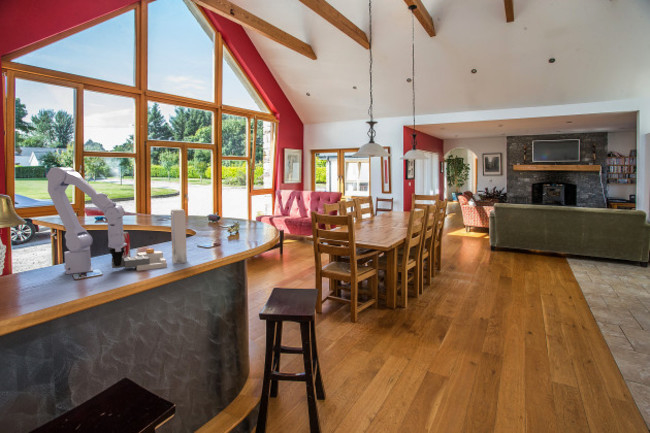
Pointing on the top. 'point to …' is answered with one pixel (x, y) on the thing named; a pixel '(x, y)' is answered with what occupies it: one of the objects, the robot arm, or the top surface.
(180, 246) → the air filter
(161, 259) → the cradle
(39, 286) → the top surface
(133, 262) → the cartridge
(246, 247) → the top surface
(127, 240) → the soda can
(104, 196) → the robot arm
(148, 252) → the plunger
